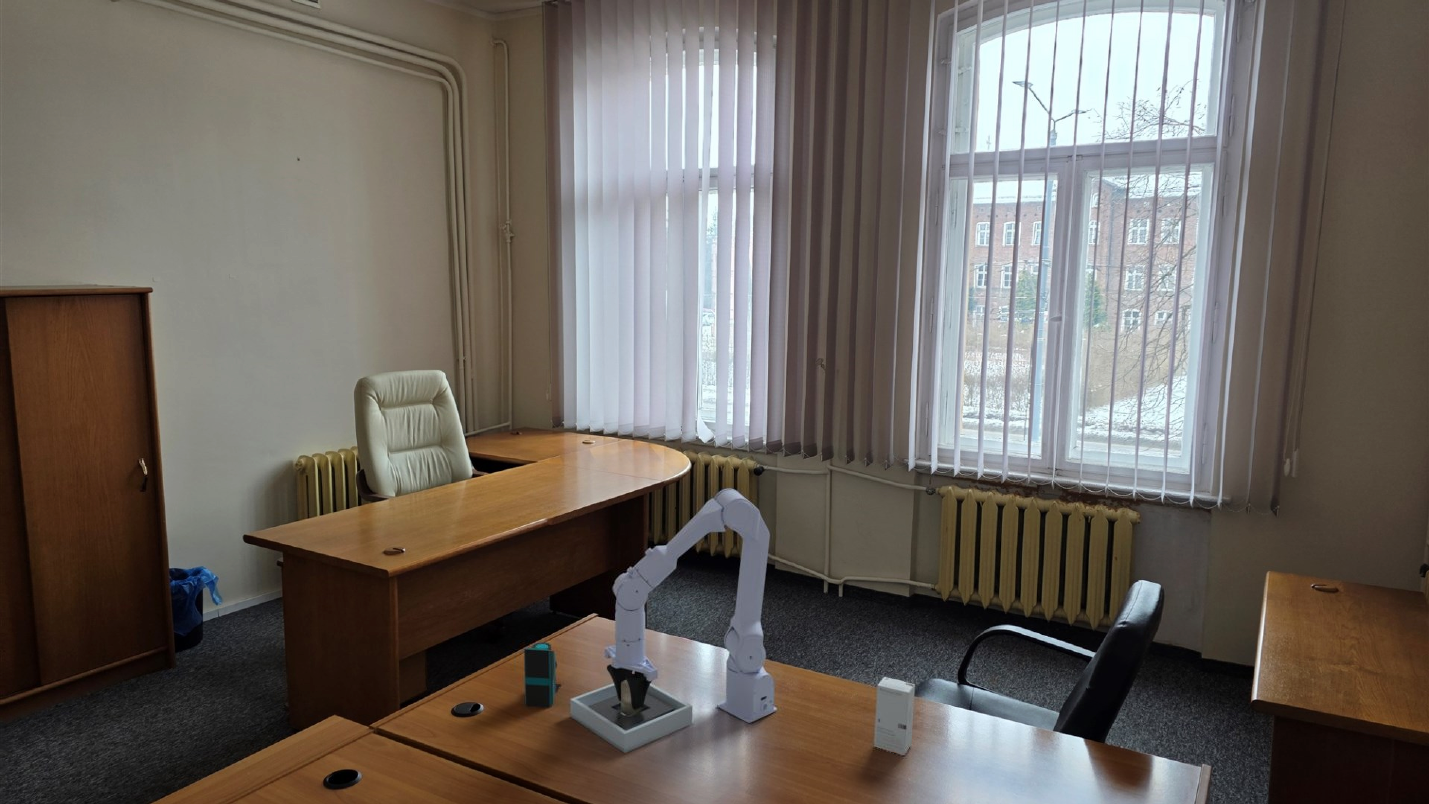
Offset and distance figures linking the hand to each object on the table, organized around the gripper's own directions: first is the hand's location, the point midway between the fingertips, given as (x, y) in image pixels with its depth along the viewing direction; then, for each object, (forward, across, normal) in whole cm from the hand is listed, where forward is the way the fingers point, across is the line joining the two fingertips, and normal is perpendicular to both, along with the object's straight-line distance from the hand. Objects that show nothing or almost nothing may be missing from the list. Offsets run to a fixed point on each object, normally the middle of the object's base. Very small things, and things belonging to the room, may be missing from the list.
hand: (630, 703), depth 162 cm
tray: (+3, 0, 0) cm, 3 cm away
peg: (+2, 0, 0) cm, 2 cm away
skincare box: (+4, +40, +30) cm, 50 cm away
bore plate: (+3, 0, 0) cm, 3 cm away
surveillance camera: (+4, -20, -7) cm, 21 cm away
